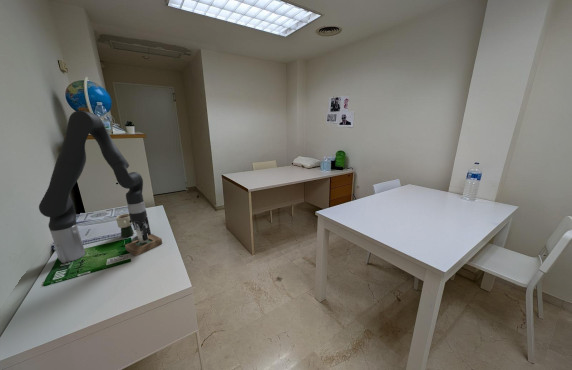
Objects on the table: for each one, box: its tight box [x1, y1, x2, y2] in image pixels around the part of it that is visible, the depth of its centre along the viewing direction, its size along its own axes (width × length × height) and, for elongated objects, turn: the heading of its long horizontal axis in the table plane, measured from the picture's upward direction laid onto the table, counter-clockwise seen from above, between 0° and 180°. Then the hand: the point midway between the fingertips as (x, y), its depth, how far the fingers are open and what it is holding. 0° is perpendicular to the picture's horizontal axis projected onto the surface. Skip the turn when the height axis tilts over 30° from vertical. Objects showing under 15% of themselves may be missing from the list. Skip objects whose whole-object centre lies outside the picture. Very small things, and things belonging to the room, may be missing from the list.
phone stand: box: [144, 216, 152, 235], centre depth 126 cm, size 9×6×12 cm, turn 37°
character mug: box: [115, 213, 135, 238], centre depth 127 cm, size 11×7×13 cm, turn 38°
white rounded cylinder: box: [135, 227, 149, 243], centre depth 115 cm, size 5×5×8 cm
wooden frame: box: [124, 233, 163, 257], centre depth 116 cm, size 14×10×3 cm
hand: (143, 238), depth 115 cm, fingers closed on white rounded cylinder, 4 cm apart
